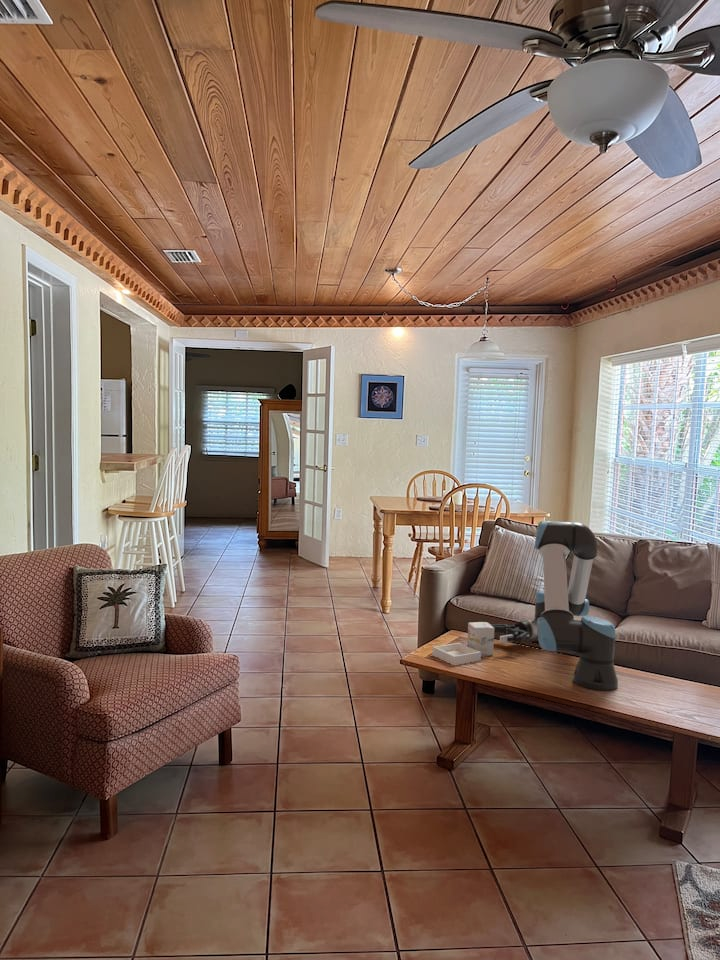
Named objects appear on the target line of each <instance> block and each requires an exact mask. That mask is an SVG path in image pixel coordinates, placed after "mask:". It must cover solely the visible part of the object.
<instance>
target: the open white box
mask: <svg viewBox="0 0 720 960" xmlns="http://www.w3.org/2000/svg"><path fill="white" fill-rule="evenodd" d="M432 656H433V657H434V658H437V657H438V658H437V659H439V658H440V659H439V660H441V661H443V660H444V662H445V661H446V662H445V663H448V664H449V663H450V665H452V666H453V665H455V666H459V664H461V665H465V663H466V664H471V663H470V662H472V663H476V662H475V661H477V662H481V660H482V656H481V652H480V651H477V650H475V649H473V648H470V647H468V646H467V644H466V645H465V644H463V643H461V642H456V643H455V642H454V643H449V644H443V645H442V644H441V645H436V646H432Z"/></svg>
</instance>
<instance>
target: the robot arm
mask: <svg viewBox="0 0 720 960" xmlns="http://www.w3.org/2000/svg"><path fill="white" fill-rule="evenodd" d="M536 527H537V528H536V534H535V538H534V539H535V540H534V549H535V550H537V551H538V554H539V555H540V557H541V558H542V564H543V566H542V569H543V588H544V589H543V590H538V591H537V592H536V593H535V600H534V601H535V603H534V619H527V620H522V621H517V622H515V624H514V625H509V623H504V624H501V623H499V624H498V623H497V624H496V623H495V624H491V623H489V624H490V625H491V626H493V627H494V628H495V629H494V633H499V634H500V633H501V634H505V635H500V636H499V643H500V644H504V643H505V644H506V643H510V642H511V643H512V642H517V643H519V644H521V643H523V642H524V641H526V640H527V639H530V640H532V639H533V638H534V639H535V638H537V640H538V644H539V646H540V648H541V649H542V650H543V651H548V652H553V653H556V652H557V653H558V652H559V653H572V654H579V657H578V658H579V659H578V662H577V665H576V667H575V670H574V671H573V677H572V681H573V682H574V683H575V684H576V685H579V687H580V686H581V687H582V688H586V689H591V690H595V691H612V690H613V691H614V690H615V689H617V688H618V685H619V679H618V677H617V672H616V668H615V664H614V662H615V661H614V660H615V647H616V645H615V644H616V638H617V636H616V626H615V624H613V622H611V621H609V620H607V619H604V618H600V617H597V616H592V615H590V616H589V612H590V600H589V599H587V592H588V587H589V583H590V579H591V572H592V567H593V563H594V559H596V558H597V556H598V551H599V544H598V540H597V537H596V536H595V533H594V532H593V531H592V530H591V528H589V527H588V526H587V525H586V524H584V523H581V522H578V521H574V522H573V521H555V520H554V521H553V520H549V519H548V520H541V521H539V522H538V524H537V526H536ZM570 552H572V554H573V559H572V566H571V571H570V577H569V582H568V574H567V573H568V572H567V571H568V570H567V557H568V555H570ZM574 617H581V618H580V620H575V618H574Z"/></svg>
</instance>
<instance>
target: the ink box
mask: <svg viewBox="0 0 720 960" xmlns="http://www.w3.org/2000/svg"><path fill="white" fill-rule="evenodd" d="M490 624H491V623H489V622H487V621H477V622H476V621H475V622H474V621H473V622H468V623H467V641H466V642H467V643H466V646H468V647H470V648H473V649H475V650H477V651H480V652H481V657H487V656H488V657H489V656H490V655H492V656H491V657H493V656H494V651H495V649H494V646H495V645H494V644H495V632H494V629H495V628H494V627H493V626H491V625H490Z"/></svg>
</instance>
